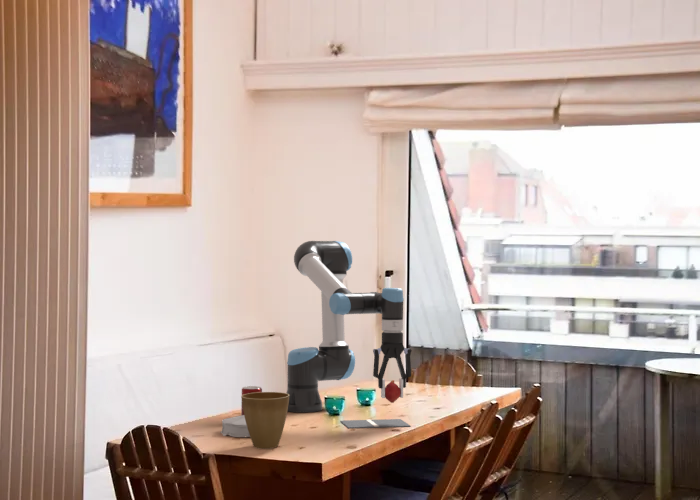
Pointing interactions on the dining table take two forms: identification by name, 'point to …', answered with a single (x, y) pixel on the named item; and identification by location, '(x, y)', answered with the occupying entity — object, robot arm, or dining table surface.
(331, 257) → the robot arm
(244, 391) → the soda can
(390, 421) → the mat
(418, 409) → the dining table surface
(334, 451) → the dining table surface
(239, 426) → the food container
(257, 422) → the plant pot
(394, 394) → the onion
